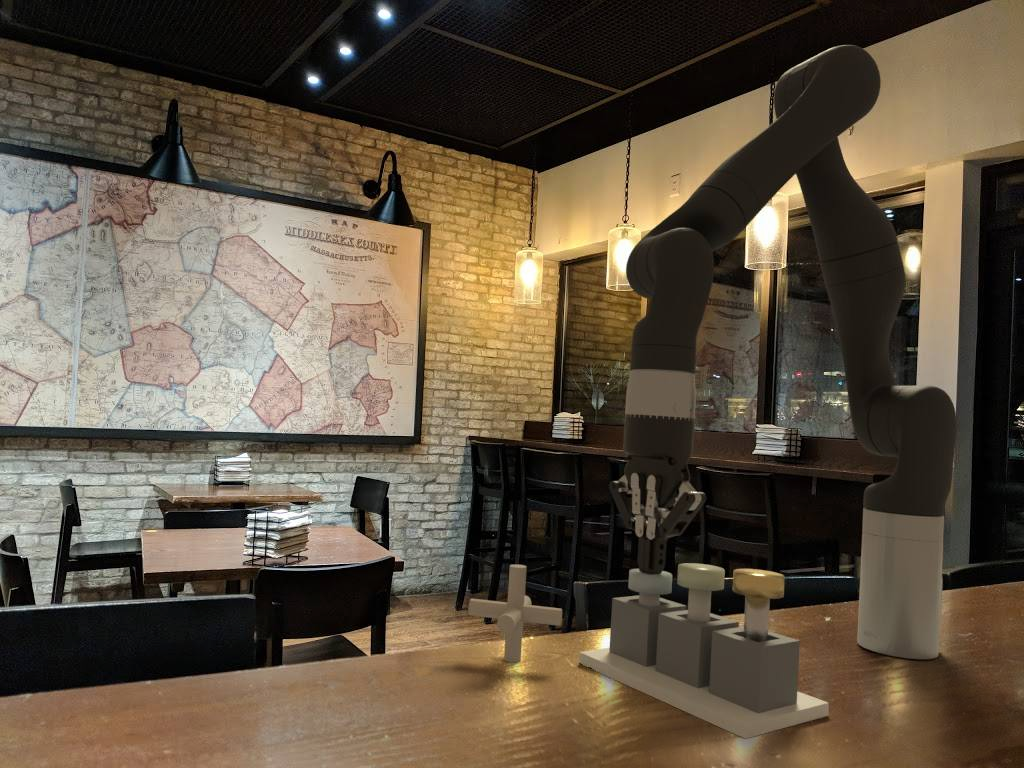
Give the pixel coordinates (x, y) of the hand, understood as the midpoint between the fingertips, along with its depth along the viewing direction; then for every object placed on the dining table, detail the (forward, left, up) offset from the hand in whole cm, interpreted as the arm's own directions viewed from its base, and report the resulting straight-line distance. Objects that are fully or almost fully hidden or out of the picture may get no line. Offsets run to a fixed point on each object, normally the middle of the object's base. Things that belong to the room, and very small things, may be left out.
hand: (650, 572), depth 86 cm
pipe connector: (+12, -8, -10) cm, 18 cm away
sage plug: (0, +7, -6) cm, 9 cm away
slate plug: (0, 0, -8) cm, 8 cm away
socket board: (0, +7, -10) cm, 12 cm away
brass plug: (0, +14, -6) cm, 15 cm away
